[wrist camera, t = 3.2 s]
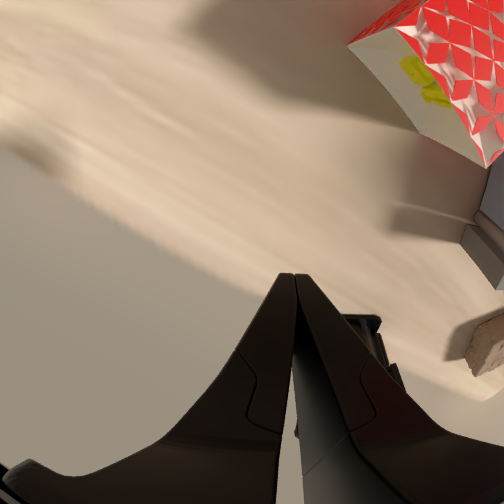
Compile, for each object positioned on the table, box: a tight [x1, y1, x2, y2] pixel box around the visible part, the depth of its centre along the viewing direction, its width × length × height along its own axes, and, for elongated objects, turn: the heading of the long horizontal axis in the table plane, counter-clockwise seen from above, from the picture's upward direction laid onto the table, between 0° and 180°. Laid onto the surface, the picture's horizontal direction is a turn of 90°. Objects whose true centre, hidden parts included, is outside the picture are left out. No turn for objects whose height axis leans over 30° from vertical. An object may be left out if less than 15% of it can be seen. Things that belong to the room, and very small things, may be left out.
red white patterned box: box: [346, 0, 504, 169], centre depth 10 cm, size 8×8×8 cm
